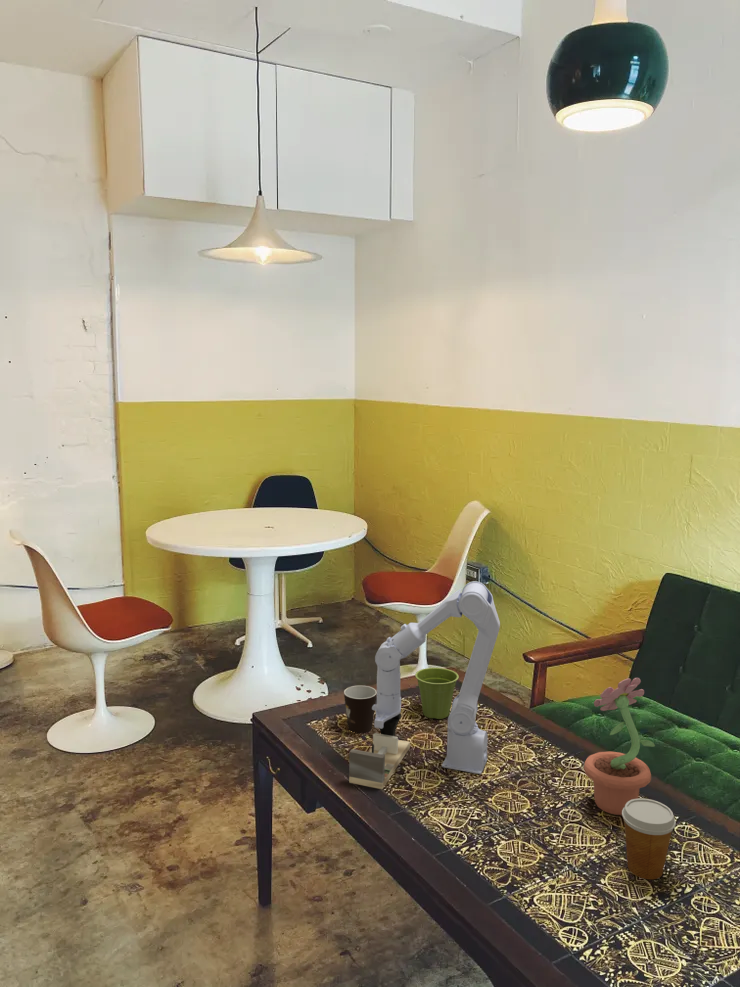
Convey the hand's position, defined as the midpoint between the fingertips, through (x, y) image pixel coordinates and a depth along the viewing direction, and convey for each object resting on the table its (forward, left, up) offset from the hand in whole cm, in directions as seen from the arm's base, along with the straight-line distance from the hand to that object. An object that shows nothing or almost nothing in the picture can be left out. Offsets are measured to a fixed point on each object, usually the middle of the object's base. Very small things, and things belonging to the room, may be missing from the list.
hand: (387, 743), depth 189 cm
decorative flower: (-54, +4, -3) cm, 54 cm away
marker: (-1, +11, -1) cm, 11 cm away
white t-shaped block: (0, +6, -1) cm, 6 cm away
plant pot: (-5, -26, -3) cm, 27 cm away
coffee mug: (+12, -12, -3) cm, 18 cm away
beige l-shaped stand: (0, +5, -3) cm, 6 cm away
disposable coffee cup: (-60, +25, -3) cm, 65 cm away
